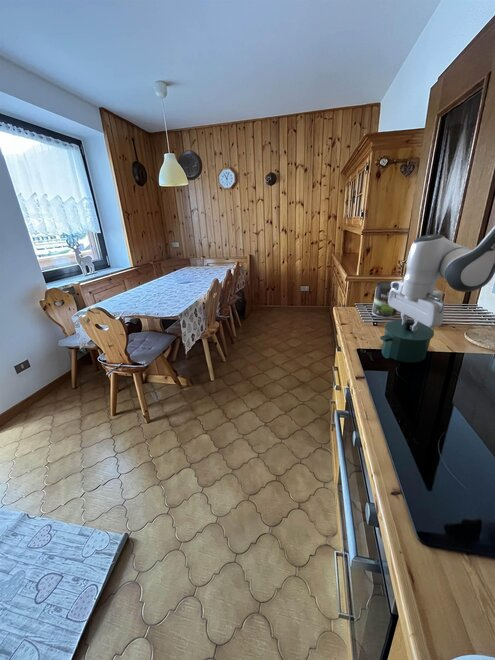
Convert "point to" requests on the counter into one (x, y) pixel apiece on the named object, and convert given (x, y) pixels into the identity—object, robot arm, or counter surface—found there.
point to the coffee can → (383, 301)
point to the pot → (404, 349)
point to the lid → (409, 331)
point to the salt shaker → (438, 293)
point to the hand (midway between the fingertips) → (409, 327)
